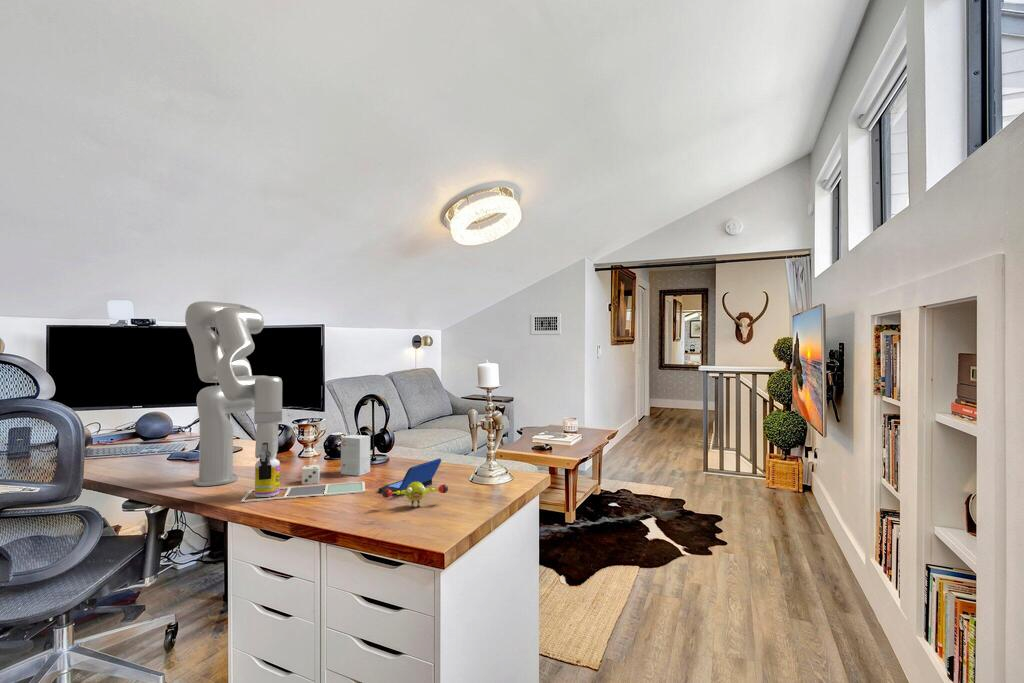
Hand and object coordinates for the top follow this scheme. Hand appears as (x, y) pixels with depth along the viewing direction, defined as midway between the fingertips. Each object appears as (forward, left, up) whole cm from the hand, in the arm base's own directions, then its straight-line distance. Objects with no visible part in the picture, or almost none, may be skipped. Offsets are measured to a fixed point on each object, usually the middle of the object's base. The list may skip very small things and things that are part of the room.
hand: (268, 475), depth 146 cm
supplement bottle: (0, 0, -6) cm, 6 cm away
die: (-13, +11, -6) cm, 18 cm away
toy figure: (+24, +41, -6) cm, 48 cm away
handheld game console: (+6, +41, -6) cm, 42 cm away
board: (0, +11, -6) cm, 12 cm away
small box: (-21, +25, -6) cm, 33 cm away
